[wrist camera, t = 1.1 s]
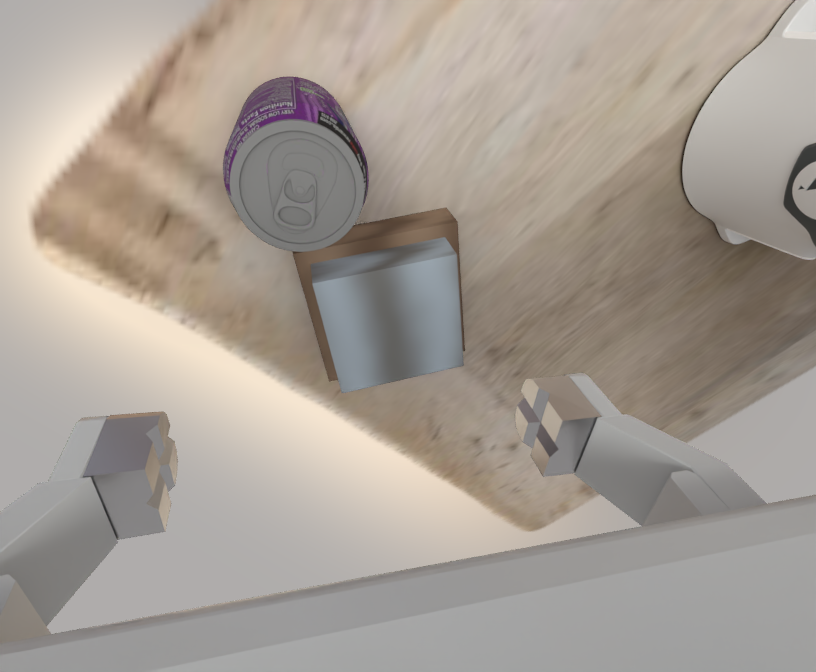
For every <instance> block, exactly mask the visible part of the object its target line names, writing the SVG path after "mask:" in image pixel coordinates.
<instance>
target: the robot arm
mask: <svg viewBox="0 0 816 672" xmlns="http://www.w3.org/2000/svg"><path fill="white" fill-rule="evenodd" d="M682 177H683V185H684V189H685V193H686V195H687V198H688V200H689V202H690V203H691V205H692V206H693V207H694V208H695V209H696V210H697V211H698V212H699V213H701V214H702V215H704V216H706V217H707V218H709V219H711V220H712V221H713V222H714V223H715V225H716V227H717V230H718V232H719V235H720V237H721V238H722V239H723V240H724V241H726V242H729V243H731V244H741V243H743V242H746V241H748V240H751V239H752V240H754V241H757V242H759V243H762V244H764V245H767V246H770V247H772V248H775V249H777V250H780V251H783V252H785V253H788V254H790V255H793V256H796V257H798V258H801V259H806V260H813V259H815V258H816V0H796V1H795V2H794V3H793V4H792V5H791V6H790V7H789V8H788V9H787V11H786V12H785V13H784V14H783V16H782V17H781V18H780V20H779V21H778V23H777V24H776V25H775V27H774V28H773V30H772V31H771V32H770V34H769V35H768V37H767V38H766V39H765V40H764V41H763V42H762V43H761V44H760V45H759V46H758V47H757V48H755V49H754V50H753V51H752V52H751V53H749V54H748V55H747V56H746V57H745V58H743V59H742V60H741V61H740V62H739V63H738V64H737V65H736V66H735V67H734V68H733V69H732V70H731V71H730V72H729V73H728V74H727V75H726V76H725V77H724V78H723V79H722V80H721V82H720V83H719V84H718V85H717V87H716V88H715V89H714V91H713V92H712V93H711V95H710V96H709V98H708V99H707V101H706V102H705V104H704V106H703V107H702V109H701V111H700V113H699V114H698V116H697V118H696V120H695V123H694V125H693V127H692V130H691V132H690V135H689V138H688V141H687V144H686V148H685V152H684V158H683V168H682ZM521 392H522V394H523V396H524V397H525V398H524V399H523V400H522V401H521V402H520V403H519V404H518V405H517V408H516V413H515V424H516V429H517V432H518V435H519V436H520V438H521V440H522V442H523V443H525V444H527V445H528V446H530V447H531V448H532V452H531V457H532V459H533V461H534V462H535V464H536V466H537V467H538V469H539V471H540V473H541V474H542V476H543V477H545V476H554V475H563V474H571V473H575V475H576V476H577V477H578V478H580V479H581V480H582V481H584V482H585V483H586V484H588V485H589V486H590V487H591V488H593V489H594V490H595V491H597V492H598V493H599V494H601V495H602V496H604V497H605V498H606V499H607V500H609V501H610V502H611V503H613V504H614V505H615V506H616V507H618V508H619V509H620V510H622V511H623V512H624V513H626V514H627V515H628V516H630V517H631V518H632V519H634V520H635V521H636V522H638V523H639V524H640V525H641V527H636V528H631V529H625V530H620V531H614V532H609V533H603V534H598V535H592V536H587V537H581V538H576V539H570V540H565V541H560V542H554V543H548V544H543V545H537V546H532V547H527V548H521V549H516V550H510V551H505V552H500V553H495V554H489V555H484V556H478V557H472V558H467V559H461V560H456V561H450V562H445V563H440V564H434V565H428V566H423V567H417V568H412V569H406V570H401V571H395V572H390V573H384V574H379V575H373V576H368V577H362V578H357V579H351V580H346V581H340V582H335V583H330V584H324V585H318V586H313V587H307V588H302V589H297V590H291V591H285V592H280V593H274V594H269V595H263V596H258V597H252V598H247V599H241V600H236V601H230V602H225V603H220V604H214V605H209V606H203V607H198V608H192V609H187V610H182V611H176V612H171V613H165V614H160V615H154V616H148V617H143V618H137V619H132V620H126V621H121V622H116V623H110V624H104V625H99V626H93V627H88V628H83V629H77V630H72V631H66V632H61V633H55V634H51V633H50V632H49V630H48V629H47V627H46V626H47V625H48V624H49V623H50V622H51V620H52V619H53V618H54V617H55V616H56V615H57V614H58V612H59V611H60V610H61V609H62V608H63V606H64V605H65V604H66V603H67V602H68V601H69V599H70V598H71V597H72V596H73V595H74V594H75V592H76V591H77V590H78V589H79V588H80V586H81V585H82V584H83V583H84V582H85V580H86V579H87V578H88V577H89V576H90V575H91V573H92V572H93V571H94V570H95V569H96V568H97V566H98V565H99V564H100V563H101V562H102V560H103V559H104V558H105V557H106V556H107V555H108V553H109V552H110V551H111V550H112V549H113V548H114V546H115V545H116V544H117V543H118V541H117V540H119V539H125V538H131V537H137V536H143V535H149V534H154V533H160V532H165V531H166V526H167V521H168V516H169V512H170V507H171V501H170V497H169V494H168V492H169V491H170V490H171V489H172V488H173V487H174V486H175V483H176V477H177V463H178V459H177V451H176V446H175V442H174V441H173V440H172V439H171V438H169V437H168V432H169V428H170V424H169V420H168V417H167V414H166V413H165V412H150V413H136V414H122V415H110V416H100V417H85V418H82V419H80V420H79V421H78V422H77V423H76V424H75V426H74V428H73V430H72V433H71V435H70V437H69V439H68V441H67V443H66V445H65V447H64V449H63V451H62V453H61V455H60V457H59V459H58V461H57V464H56V466H55V468H54V470H53V472H52V474H51V476H50V478H49V480H48V482H42V483H38V484H37V485H35V486H34V487H33V488H31V489H30V490H29V491H27V492H26V493H25V494H23V495H22V496H21V497H19V498H18V499H17V500H15V501H14V502H13V503H11V504H10V505H9V506H8V507H6V508H5V509H3V510H2V511H1V512H0V672H816V495H812V496H806V497H801V498H796V499H790V500H785V501H779V502H773V503H768V504H767V503H766V502H765V501H764V500H762V498H760V496H759V495H758V494H757V493H756V492H755V491H754V490H752V489H751V487H749V485H748V484H747V483H745V482H744V480H742V479H741V478H740V477H739V476H738V475H737V474H736V473H735V472H734V471H733V470H732V469H731V468H730V467H729V466H728V465H727V464H726V463H725V462H723V461H721V460H719V459H717V458H714V457H713V456H711V455H709V454H707V453H705V452H703V451H701V450H699V449H696V448H695V447H693V446H690V445H688V444H687V443H685V442H683V441H680V440H678V439H676V438H674V437H672V436H670V435H668V434H666V433H664V432H662V431H660V430H658V429H656V428H654V427H652V426H650V425H648V424H646V423H644V422H642V421H640V420H638V419H636V418H634V417H632V416H630V415H628V414H626V415H622V414H621V413H620V412H619V411H618V409H617V408H616V407H615V406H614V405H613V404H612V403H611V401H610V400H609V399H608V398H607V397H606V396H605V395H604V394H603V392H602V391H601V390H600V389H599V388H598V387H597V386H596V384H595V383H594V382H593V381H592V380H591V379H590V378H589V376H588V375H586V374H584V373H573V374H565V375H558V376H548V377H538V378H528V379H526V380H525V382H524V383H523V386H522V389H521Z"/></svg>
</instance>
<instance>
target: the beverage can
mask: <svg viewBox="0 0 816 672" xmlns="http://www.w3.org/2000/svg"><path fill="white" fill-rule="evenodd" d="M223 175H224V182H225V187H226V190H227V193H228V196H229V198H230V201H231V203H232V204H233V206H234V208H235V209H236V211H237V213H238V215H239V217H240V218H241V220H242V221H243V222H244V224H245V225H246V226H247V227H248V229H249V230H250V231H251V232H253V233H254V234H255V235H256V236H257V237H259V238H260V239H261V240H263V241H265V242H266V243H268V244H270V245H272V246H275V247H277V248H280V249H284V250H288V251H296V252H307V251H314V250H319V249H322V248H325V247H327V246H330V245H332V244H333V243H335V242H337V241H338V240H340V239H341V238H342V237H343V236H345V235H346V234H347V233H348V232H349V230H350V229H351V228H352V227H353V225H354V224H355V222H356V221H357V219H358V217H359V215H360V212H361V209H362V207H363V205H364V202H365V199H366V196H367V191H368V181H369V179H368V167H367V162H366V158H365V155H364V152H363V150H362V147H361V145H360V143H359V141H358V139H357V137H356V135H355V134H354V132H353V130H352V128H351V126H350V124H349V122H348V120H347V118H346V116H345V115H344V113H343V111H342V109H341V107H340V106H339V104H338V103H337V101H336V100H335V99H334V98H333V96H332V95H331V94H330V93H328V92H327V91H326V90H325V89H324V88H322V87H321V86H319V85H317V84H316V83H314V82H311V81H309V80H306V79H303V78H298V77H280V78H276V79H272V80H270V81H268V82H265V83H264V84H262V85H261V86H259V87H258V88H257V89H255V90H254V91H253V92H252V93H251V95H250V96H249V97H248V99H247V100H246V102H245V104H244V106H243V108H242V110H241V113H240V115H239V118H238V120H237V122H236V125H235V127H234V130H233V132H232V134H231V137H230V139H229V142H228V144H227V147H226V151H225V155H224V162H223Z"/></svg>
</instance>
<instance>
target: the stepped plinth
mask: <svg viewBox="0 0 816 672" xmlns="http://www.w3.org/2000/svg"><path fill="white" fill-rule="evenodd" d="M293 256H294V259H295V263H296V266H297V270H298V273H299V277H300V280H301V284H302V287H303V291H304V294H305V298H306V301H307V305H308V308H309V312H310V315H311V319H312V322H313V326H314V329H315V333H316V336H317V340H318V343H319V347H320V350H321V354H322V357H323V361H324V364H325V368H326V371H327V375H328V378H329V381H334V380H339V384H340V388H341V392H342V393H346V392H350V391H355V390H359V389H363V388H368V387H372V386H376V385H381V384H385V383H390V382H394V381H398V380H403V379H407V378H411V377H416V376H420V375H425V374H429V373H433V372H438V371H442V370H446V369H451V368H455V367H459V366H464V364H463V351H465V345H464V328H463V311H462V294H461V276H460V259H459V242H458V224H457V221H456V219H455V218H454V217H453V216H452V214H451V213H450V212H449V211H448V209H447V208H442V209H437V210H432V211H427V212H421V213H416V214H411V215H406V216H401V217H396V218H390V219H385V220H380V221H375V222H370V223H364V224H359V225H354V226H353V227H352V228H351V229H350V230H349V232H348V233H347V234H346V235H345V236H343V237H342V238H341V239H340V240H338V241H337V242H335V243H333V244H332V245H330V246H327V247H325V248H322V249H319V250H314V251H307V252H296V251H293Z"/></svg>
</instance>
